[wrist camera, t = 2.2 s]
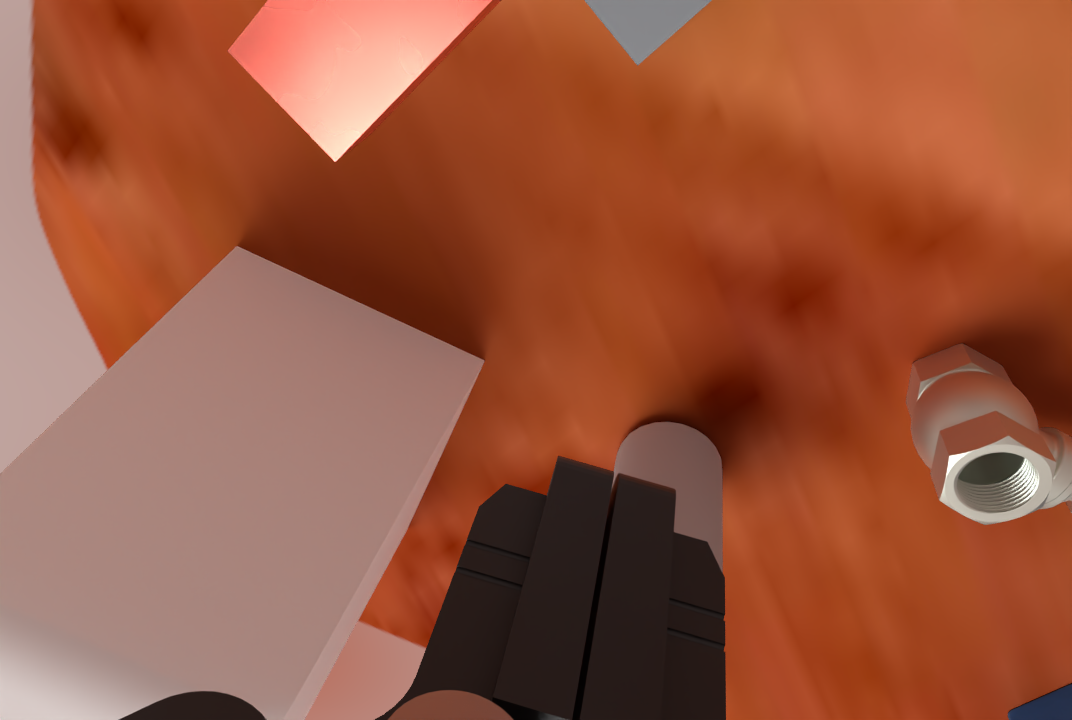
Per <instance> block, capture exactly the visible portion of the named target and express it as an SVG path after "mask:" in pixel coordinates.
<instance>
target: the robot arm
mask: <svg viewBox="0 0 1072 720" xmlns="http://www.w3.org/2000/svg"><path fill="white" fill-rule="evenodd" d="M613 478H614V471H610V470H607V469H603V468H600V467H596V466H593V465H589V464H586V463H582V462H579V461H575V460H572V459H568V458H565V457H561V456H558V458H557V462H556V465H555V469H554V472H553V476H552V479H551V483H550V486H549V490H548V493H547V496H546V495H543V494H539V493H536V492H533V491H529V490H526V489H522V488H519V487H515V486H512V485H508V484H505V485H504V486H503V487H502V488H500V489H499V490H498V491H497V492H496V493H495V494H493V495H492V496H491V497H490V498H489V499H488V500H486V501H485V502H484V503H483V504H482V505H481V506H479V509H478V511H477V514H476V517H475V519H474V522H473V525H472V527H471V530H470V533H469V535H468V538H467V542H466V545H465V546H464V549H463V552H462V554H461V557H460V560H459V562H458V565H457V568H456V572H455V573H454V576H453V578H452V581H451V584H450V586H449V589H448V592H447V594H446V597H445V600H444V602H443V605H442V608H441V611H440V613H439V616H438V619H437V621H436V624H435V627H434V629H433V632H432V635H431V637H430V640H429V643H428V645H427V648H426V651H425V653H424V656H423V659H422V662H421V665H420V667H419V669H418V672H417V675H416V677H415V679H414V681H413V684H412V686H411V687H410V689H409V690H408V692H407V693H406V694H405V696H404V697H403V698H402V699H401V700H400V701H399V702H398V703H397V704H396V705H395V706H394V707H393V708H392V709H390V710H389V711H388V712H386V713H385V714H384V715H382V716H380V717H379V718H377V719H375V720H726V681H725V652H724V646H725V621H723V620H724V615H725V577H724V575H723V573H722V571H721V569H720V567H719V565H718V563H717V560H716V558H715V556H714V554H713V552H712V550H711V548H710V546H709V544H708V542H707V541H703V540H700V539H696V538H693V537H690V536H686V535H683V534H679V533H676V532H674V521H675V506H676V490H675V489H674V488H671V487H667V486H664V485H660V484H657V483H653V482H650V481H646V480H643V479H639V478H636V477H632V476H629V475H625V474H622V473H618V474H617V476H616V478H615V481H614V484H613ZM612 484H613V486H612ZM119 720H266V718H265V717H264V716H263V714H262V713H261V712H260V711H258V710H257V709H256V708H255V707H254V706H253V705H251V704H249V703H248V702H246V701H244V700H243V699H241V698H238V697H235V696H233V695H230V694H226V693H220V692H215V691H195V692H186V693H182V694H178V695H174V696H170V697H167V698H165V699H162V700H160V701H157V702H155V703H153V704H151V705H148V706H146V707H144V708H142V709H140V710H138V711H136V712H134V713H132V714H129V715H127V716H125V717H123V718H121V719H119Z"/></svg>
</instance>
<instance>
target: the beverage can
mask: <svg viewBox="0 0 1072 720" xmlns="http://www.w3.org/2000/svg"><path fill="white" fill-rule="evenodd" d="M618 473H622V474H625V475H629V476H632V477H636V478H639V479H643V480H646V481H650V482H653V483H657V484H660V485H664V486H667V487H671V488H674V489H675V490H676V506H675V521H674V532H676V533H679V534H683V535H686V536H690V537H693V538H696V539H700V540H703V541H707V542H708V544H709V546H710V548H711V550H712V552H713V554H714V556H715V558H716V560H717V563H718V565H719V567H720V569H721V571H722V573H723V557H722V462H721V457H720V455H719V453H718V451H717V449H716V447H715V446H714V444H713V443H712V442H711V441H710V440H709V439H708V437H706V436H705V435H703V434H702V433H701V432H699V431H698V430H696V429H694V428H691V427H689V426H686V425H684V424H680V423H673V422H655V423H651V424H648V425H644V426H641V427H639V428H638V429H636V430H634V431H633V432H631V433H630V434H629V435H628V436H627V437H626V438H625V440H624V441H623V442H622V444H621V446H620V448H619V450H618V453H617V456H616V462H615V467H614V478H613V484H614V481H615V478H616V476H617V474H618ZM613 484H612V486H613Z"/></svg>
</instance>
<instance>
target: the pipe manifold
mask: <svg viewBox="0 0 1072 720" xmlns="http://www.w3.org/2000/svg"><path fill="white" fill-rule="evenodd" d="M710 1H711V0H585V2H586V3H587V4H588V5H589V6H590V8H591V9H592V10H593V11H594V13H595V14H596V15H597V16H598V18H599V19H600V20H601V21H602V22H603V24H604V25H605V26H606V27H607V29H608V30H609V31H610V32H611V33H612V35H613V36H614V37H615V38H616V40H617V41H618V42H619V43H620V45H621V46H622V47H623V48H624V49H625V51H626V52H627V53H628V54H629V56H630V57H631V58H632V59H633V61H634V62H635V63H636V64H637V65H639V64H640V63H641V62H642V61H643V60H644V59H646V58H647V57H648V56H649V55H650V54H651V53H652V52H654V51H655V50H656V49H657V48H658V47H659V46H660V45H661V44H663V43H664V42H665V41H666V40H667V39H668V38H669V37H671V36H672V35H673V34H674V33H675V32H676V31H677V30H679V29H680V28H681V27H682V26H683V25H684V24H685V23H686V22H688V21H689V20H690V19H691V18H692V17H693V16H694V15H696V14H697V13H698V12H699V11H700V10H701V9H702V8H704V7H705V6H706V5H707V4H708V3H709V2H710Z"/></svg>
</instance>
